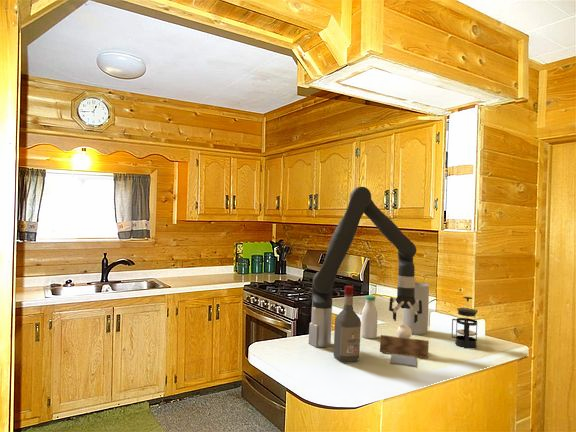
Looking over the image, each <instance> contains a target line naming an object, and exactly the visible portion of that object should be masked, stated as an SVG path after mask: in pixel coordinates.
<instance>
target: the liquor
mask: <svg viewBox="0 0 576 432" xmlns="http://www.w3.org/2000/svg"><path fill="white" fill-rule="evenodd" d="M354 288H355V287H354V286H353V285H345V286H344V290H343V291H344V292H343V293H344V300H343V301H344V303H343V308H342V310H341V311H340V312H339V313H338V314H337V315H336V316H335V318H334V335H333V337H334V338H333V357H334V359H336V361H338V362H339V363H344V364H350V363H357V362H358V361H359V359H360V354H361V353H360V352H361V351H360V350H361V348H360V347H361V344H360V343H361V318H360V317H359V316H358V314H357V313H356V312H355V310H354V307H353V305H354Z"/></svg>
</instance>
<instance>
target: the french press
mask: <svg viewBox="0 0 576 432" xmlns="http://www.w3.org/2000/svg"><path fill="white" fill-rule="evenodd" d="M462 299H465V300H466V307H458V308H457V309H456V310H457V314H458V315H459V316H463V317H458V318H452V319H451V338H452V339H455V343H454V345H455V344H456V345H455V346H457V347H459V348H462V347H464V348H463V349H467V348H475V349H477V348H478V346H477V339H478V337H477V336H478V334H477V333H478V320H476V319H473V318H472V317H476V315H477V313H478V310H477V309H473V308H469V302H470V300H472V299H473V297H472V296H471V297H470V296H463V298H462ZM470 317H471V318H470ZM454 321H456V326H455V328H456V329H455V336H453V335H454V334H453V330H454ZM458 324H459V325H462V326H463V329H458ZM470 326H471V327H474V326H476V327H475V329H476V330H475V331H473V330H470ZM458 334H459V335H458ZM474 336H475V338H474ZM476 347H477V348H476Z"/></svg>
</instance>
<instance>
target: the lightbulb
mask: <svg viewBox="0 0 576 432" xmlns="http://www.w3.org/2000/svg"><path fill="white" fill-rule="evenodd" d="M396 334H397V337H403V338H411V336H412V335H413V334H412V331H411V328H410V327H409V326H407V325H403V324H401V325H399V326H398V327H397V330H396Z"/></svg>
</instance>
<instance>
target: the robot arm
mask: <svg viewBox="0 0 576 432" xmlns="http://www.w3.org/2000/svg"><path fill="white" fill-rule="evenodd" d="M363 214H364V215H365V216H366V217H367V218H368V219H369V220H370V221H371V222H372V223H373V225H375V227H376V228H377V229H378V230H379V231H380V233H382V235H383V236H384V237H385V238H386V239H387V241H388V242H389V243H391V244H392V245H393V246H394V247H395V248H396V250H397V259H398V260H397V261H398V272H397V275H398V276H397V287H396V289H397V290H396V291H397V294H396V295H397V296H396V297H393V296H391V297H389V306H388V310H389V312H392V320H394V322H396V321H397V312H398V310H399V309H400V308H401V309H403V308H407V309H410V308H411V309H412V311H413V312H414V313H415V314H414V323H416V322H417V321H418V314H422V300H421V299H419V300H415V282H416V281H415V279H416V278H415V275H416V274H415V272H416V271H415V269H416V268H415V263H414V257H415V255H416V254H417V246H416V245H415V243H414V242H413V241H411V240H410V239H409V238H408V236H406V235H405V234H404V233H403V231H402V230H401V229H400V228H399V227H398V226H397V224H395V223H394V222H393V220H392V219H390V218H389V217H388V215H386V214H385V213H384V212H383V211H381V210H380V209H379V207H378V206H377V205H376V204H375V203H374V201H373V200H372V194H371V191H370V189H369V188H367V187H365V186H359V187H355V188H354V189H353V190H352V191H351V193H350V194H349V201H348V204H347V206H346V210H345V213H344V215H343V216H342V217H341V219H340V220H339V222H338V224H337V225H336V227H335V230H334V231H333V234H332V236H331V238H330V240H329V243H328V246H327V250H326V254H325V258H324V261H323V262H322V265H321V266H320V268H319V271H317V272H316V273H315V274H314V275H313V276H312V284H311V285H312V287H311V289H312V291H311V292H312V293H311V319H310V321H311V322H309V324H308V325H309V327H308V344H309V345H311V346H313V347H315V348H328V347H330V346H331V345H332V344H331V343H332V317H333V316H332V315H333V288H334V285H335V284H334V283H335V281H336V278H337V275H338V271H339V269H340V268H341V265H342V263H343V262H344V260H345V257H346V255H347V254H348V251H349V249H350V247H351V245H352V243H353V241H354V238H355V237H356V236H355V235H356V234H357V230H358V227H359V223H360V221H361V219H362V217H363ZM395 302H396V303H397V304H396V306H395V307H394V308H393V304H394V303H395ZM415 302H416V303H417V304H418V305H419V311H417V310H416V309H415V307H414V306H413V305H414V304H415Z"/></svg>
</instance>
